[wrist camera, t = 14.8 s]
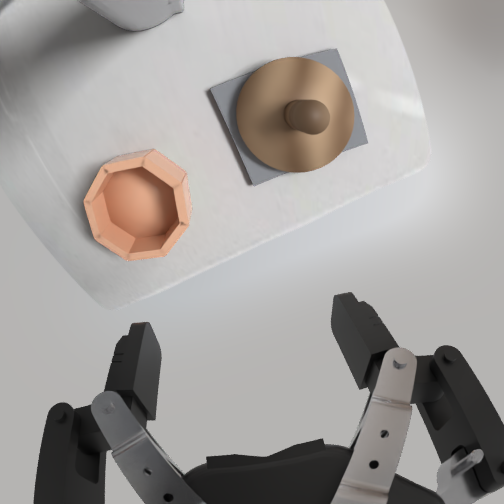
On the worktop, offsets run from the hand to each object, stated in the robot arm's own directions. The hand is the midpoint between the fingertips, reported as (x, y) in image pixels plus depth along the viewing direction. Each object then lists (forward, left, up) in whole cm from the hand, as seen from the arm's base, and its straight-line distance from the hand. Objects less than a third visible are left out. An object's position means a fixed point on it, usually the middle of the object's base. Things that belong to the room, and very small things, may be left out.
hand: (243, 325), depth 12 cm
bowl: (+11, +2, -25) cm, 28 cm away
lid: (-9, -7, -25) cm, 27 cm away
